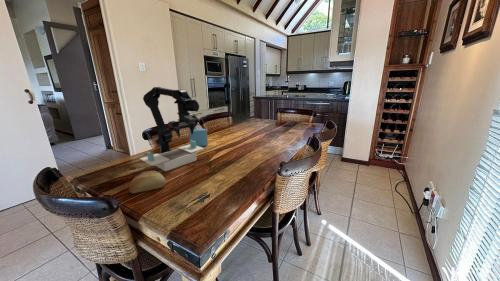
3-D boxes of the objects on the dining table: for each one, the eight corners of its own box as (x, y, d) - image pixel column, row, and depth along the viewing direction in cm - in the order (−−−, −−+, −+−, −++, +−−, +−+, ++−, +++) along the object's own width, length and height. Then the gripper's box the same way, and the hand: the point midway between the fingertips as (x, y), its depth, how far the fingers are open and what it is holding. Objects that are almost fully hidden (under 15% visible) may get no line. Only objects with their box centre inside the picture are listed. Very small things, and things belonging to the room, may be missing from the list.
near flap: (140, 159, 114) (138, 151, 113) (157, 154, 121) (155, 147, 120) (151, 165, 105) (150, 157, 104) (169, 160, 112) (168, 152, 111)
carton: (152, 164, 120) (151, 156, 119) (183, 154, 135) (182, 147, 133) (165, 171, 111) (164, 162, 109) (196, 160, 125) (196, 152, 124)
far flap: (177, 148, 131) (177, 141, 129) (190, 144, 138) (190, 138, 136) (191, 153, 122) (190, 145, 120) (204, 148, 129) (203, 142, 127)
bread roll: (129, 189, 93) (125, 173, 91) (164, 180, 101) (161, 165, 99) (130, 199, 86) (127, 181, 83) (168, 188, 93) (166, 172, 91)
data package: (207, 144, 156) (205, 128, 153) (207, 145, 152) (206, 129, 149) (190, 145, 153) (188, 130, 149) (191, 147, 149) (189, 131, 145)
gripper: (176, 114, 115) (179, 141, 119) (203, 110, 128) (205, 134, 133) (166, 112, 122) (169, 138, 126) (193, 108, 135) (195, 131, 140)
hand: (185, 135), depth 131 cm, fingers open, 9 cm apart
